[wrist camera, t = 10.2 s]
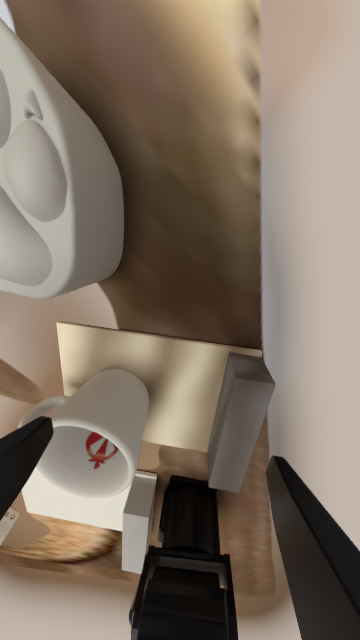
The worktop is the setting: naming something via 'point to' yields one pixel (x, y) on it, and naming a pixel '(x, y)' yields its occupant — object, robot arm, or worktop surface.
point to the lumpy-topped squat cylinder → (52, 184)
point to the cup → (95, 435)
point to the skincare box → (8, 522)
